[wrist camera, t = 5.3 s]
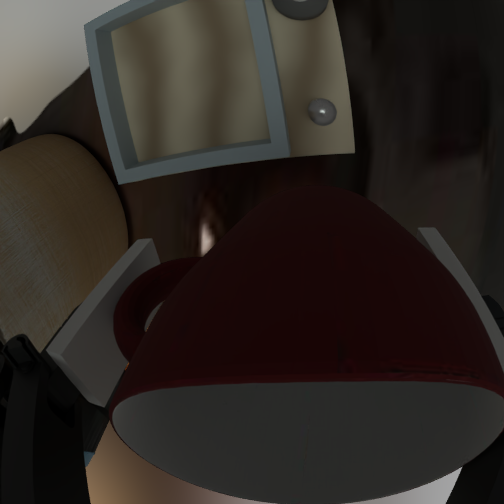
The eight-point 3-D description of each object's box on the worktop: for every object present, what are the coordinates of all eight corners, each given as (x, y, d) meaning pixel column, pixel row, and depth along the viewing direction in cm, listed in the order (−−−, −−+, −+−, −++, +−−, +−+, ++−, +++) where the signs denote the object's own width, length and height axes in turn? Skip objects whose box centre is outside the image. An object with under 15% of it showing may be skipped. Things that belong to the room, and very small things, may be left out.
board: (137, 178, 28) (131, 182, 27) (103, 24, 19) (96, 23, 18) (352, 149, 23) (355, 152, 22) (320, -34, 14) (321, -39, 13)
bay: (132, 176, 26) (118, 184, 24) (99, 27, 18) (83, 25, 16) (291, 150, 23) (289, 156, 21) (257, -28, 15) (252, -39, 13)
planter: (133, 304, 38) (61, 422, 21) (27, 254, 38) (-49, 331, 21) (143, 146, 26) (-29, 254, 9) (15, 123, 26) (-105, 183, 9)
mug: (205, 312, 16) (140, 478, 8) (154, 175, 12) (-21, 331, 4) (398, 296, 14) (438, 488, 5) (398, 135, 10) (596, 303, 1)
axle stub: (309, 122, 21) (310, 126, 19) (306, 98, 20) (306, 99, 18) (334, 120, 21) (338, 125, 18) (331, 96, 20) (335, 97, 17)
